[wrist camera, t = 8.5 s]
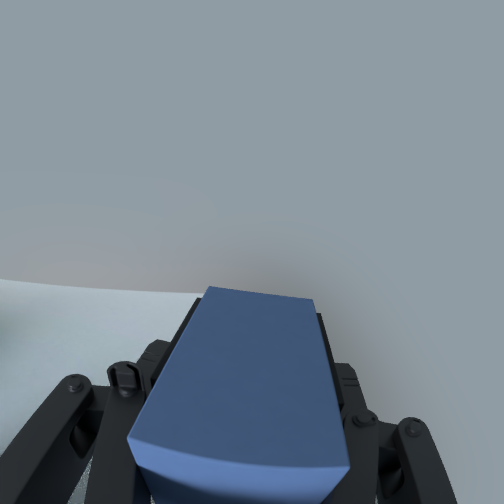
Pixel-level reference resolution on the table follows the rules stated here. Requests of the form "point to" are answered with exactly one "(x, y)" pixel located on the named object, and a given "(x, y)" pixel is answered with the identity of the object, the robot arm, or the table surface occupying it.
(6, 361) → the table surface
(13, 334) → the table surface
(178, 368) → the block
